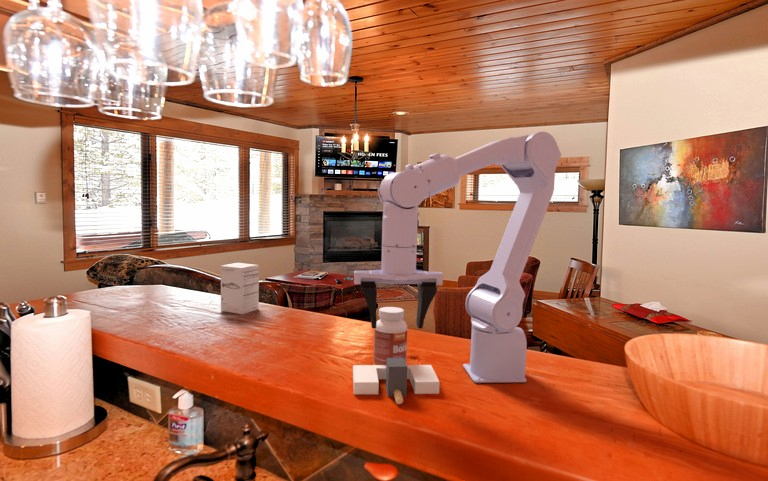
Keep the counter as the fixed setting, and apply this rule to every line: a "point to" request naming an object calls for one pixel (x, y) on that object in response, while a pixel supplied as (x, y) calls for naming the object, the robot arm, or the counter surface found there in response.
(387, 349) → the pill bottle
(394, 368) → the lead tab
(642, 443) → the counter surface
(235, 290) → the supplement box
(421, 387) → the notched board
